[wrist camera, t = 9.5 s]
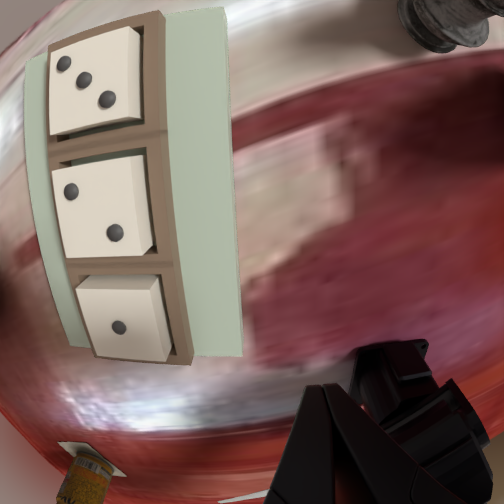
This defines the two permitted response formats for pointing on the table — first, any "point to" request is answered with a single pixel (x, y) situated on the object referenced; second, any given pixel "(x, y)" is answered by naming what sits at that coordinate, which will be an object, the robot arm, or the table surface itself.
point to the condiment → (86, 476)
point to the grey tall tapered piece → (448, 22)
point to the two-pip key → (105, 208)
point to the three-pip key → (97, 83)
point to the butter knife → (247, 496)
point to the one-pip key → (127, 316)
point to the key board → (155, 182)
